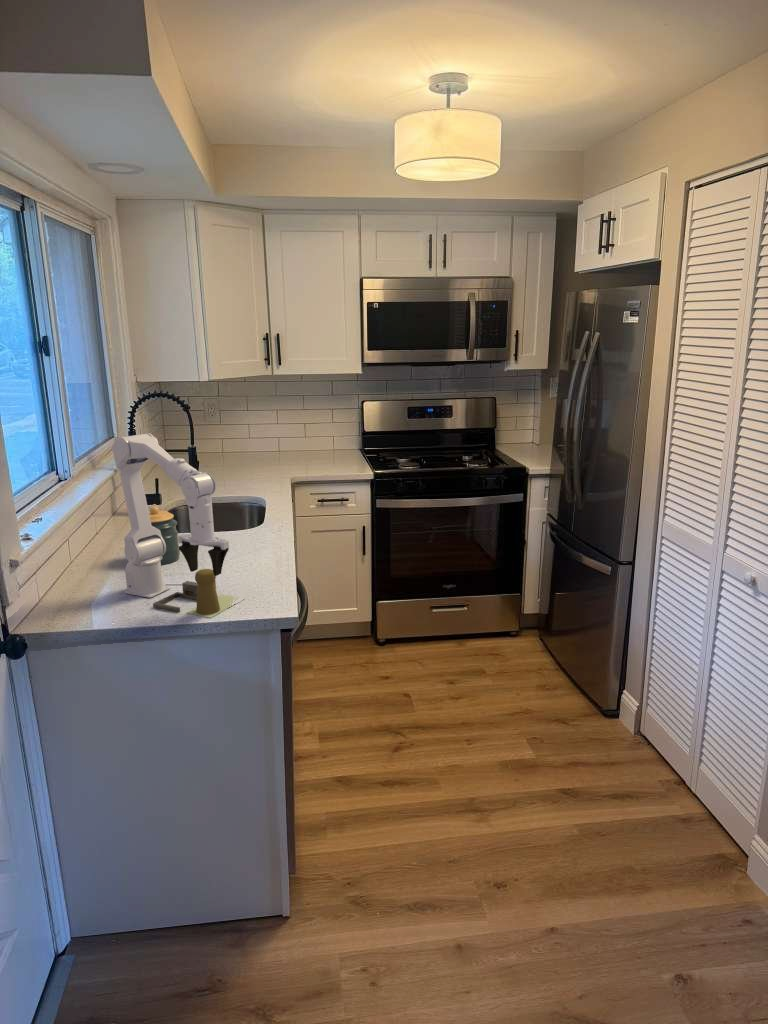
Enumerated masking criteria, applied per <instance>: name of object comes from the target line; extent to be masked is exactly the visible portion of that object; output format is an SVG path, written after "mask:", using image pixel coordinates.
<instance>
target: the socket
mask: <svg viewBox="0 0 768 1024" xmlns="http://www.w3.org/2000/svg"><path fill="white" fill-rule="evenodd" d="M181 586H182V592H179V591H177V592H176V591H175V592H173V593H172V594H169V595H168V596H166V597H163V598H162V599H159V600H157V601H156V602H152V607H153V609H156V610H157V609H158V610H162V611H166V612H172V613H176V614H178V613H180V612H181V607H178V606H175V605H169V604H168V603H169V602H171V601H173V600H176V599H177V598H179V599H184V600H189V601H195V602H197V589H198V583H197V582H196V581H195V582H194V581H188V580H186V581H184V582H182V584H181ZM189 591H190V592H194V594H195V595H191V594H187V592H189Z"/></svg>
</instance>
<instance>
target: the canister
mask: <svg viewBox="0 0 768 1024" xmlns="http://www.w3.org/2000/svg"><path fill="white" fill-rule="evenodd" d="M148 511H149V516H150V520H151V525H152V526H153V527H155V528H157V529H159V530H160V531H161V535H162V538H163V540H164V541H165V544H166V551H165V554H164V555H163V556H162V558H163V559H161V560H160V562H161V566H162V565H167V564H171V563H174V562H176V561H178V560H179V559H180V555H181V551H180V550H179V546H180V545H179V544H180V543H179V541H178V536H179V531H178V530H177V527H176V526H177V525H178V521H177V520H176V519H174V516H175V515H174V514H173V513H171V512H169V511H168V510H162V509H160V508H159V507H158V506H157V505H155V506H154V505H153V506H151V507H150V509H149V510H148ZM148 537H149V536H148ZM145 538H147V537H145ZM141 539H143V538H141ZM139 540H140V539H139Z"/></svg>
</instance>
